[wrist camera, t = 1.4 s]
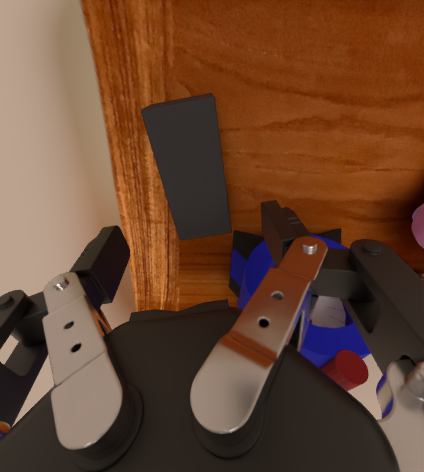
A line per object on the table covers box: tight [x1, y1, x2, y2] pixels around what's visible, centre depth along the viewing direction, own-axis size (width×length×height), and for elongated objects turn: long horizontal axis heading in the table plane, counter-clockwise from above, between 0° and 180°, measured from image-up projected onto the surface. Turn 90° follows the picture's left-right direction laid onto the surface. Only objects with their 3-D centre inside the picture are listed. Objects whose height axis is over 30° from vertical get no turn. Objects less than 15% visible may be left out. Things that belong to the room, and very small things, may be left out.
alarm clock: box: [229, 229, 371, 391], centre depth 22 cm, size 12×12×15 cm
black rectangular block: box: [141, 93, 232, 240], centre depth 19 cm, size 11×5×4 cm, turn 9°
